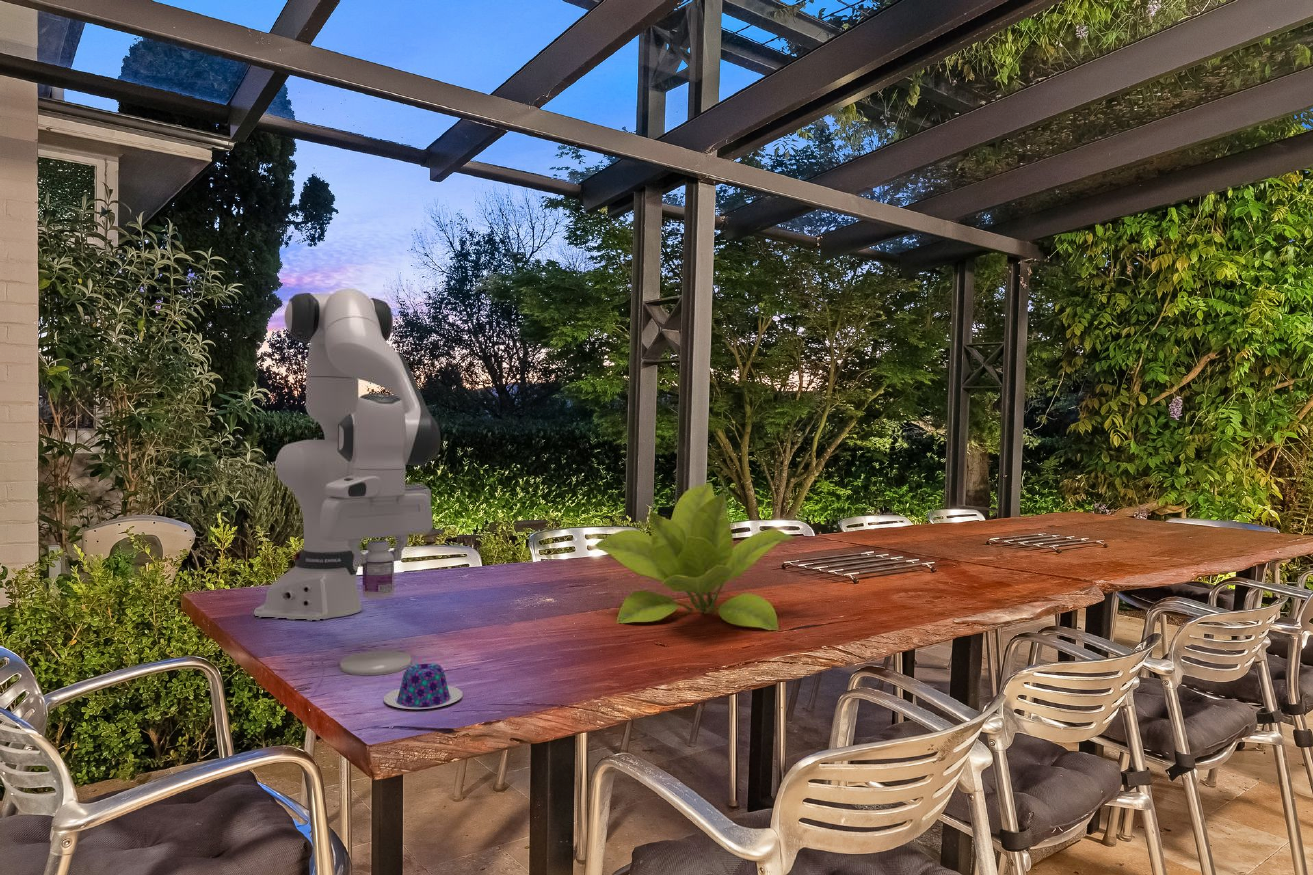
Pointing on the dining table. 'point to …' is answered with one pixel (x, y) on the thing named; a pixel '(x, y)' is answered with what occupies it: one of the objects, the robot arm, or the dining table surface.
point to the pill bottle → (378, 570)
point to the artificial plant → (693, 561)
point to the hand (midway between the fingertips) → (378, 562)
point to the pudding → (423, 688)
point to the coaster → (375, 663)
